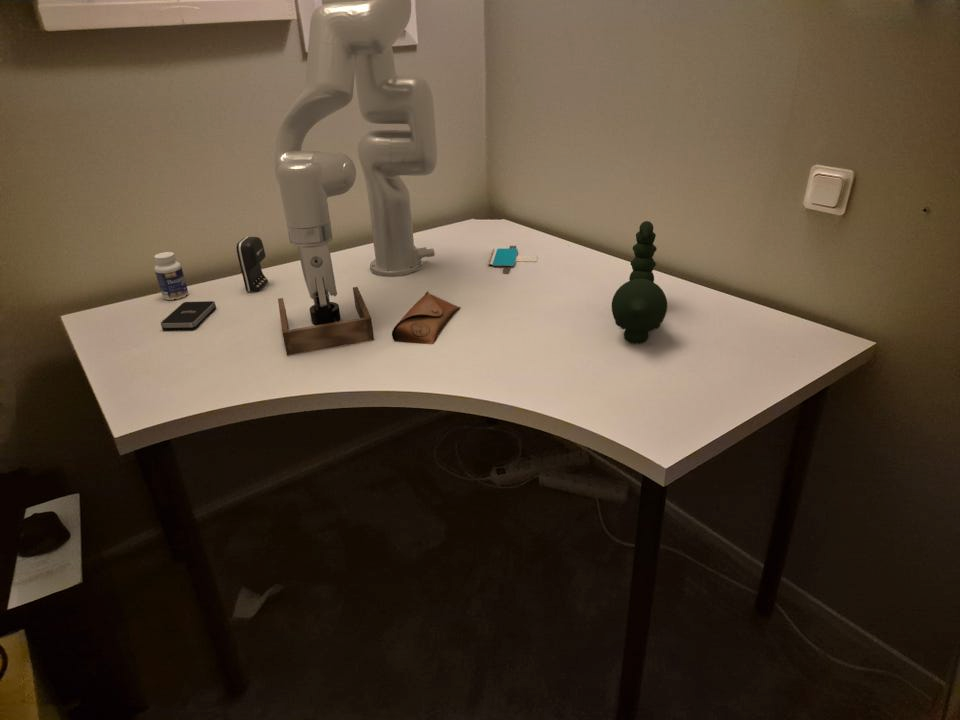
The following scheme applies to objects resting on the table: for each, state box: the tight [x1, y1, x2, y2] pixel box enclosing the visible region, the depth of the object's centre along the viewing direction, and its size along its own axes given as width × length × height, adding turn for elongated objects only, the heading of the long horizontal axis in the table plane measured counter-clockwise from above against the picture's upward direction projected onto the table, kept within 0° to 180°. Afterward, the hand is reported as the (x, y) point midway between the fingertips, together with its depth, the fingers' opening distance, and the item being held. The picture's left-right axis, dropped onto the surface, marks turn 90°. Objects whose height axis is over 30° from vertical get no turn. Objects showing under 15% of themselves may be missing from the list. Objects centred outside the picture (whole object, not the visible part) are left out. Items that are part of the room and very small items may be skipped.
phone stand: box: [487, 245, 538, 274], centre depth 155 cm, size 20×12×2 cm, turn 173°
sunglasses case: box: [391, 290, 462, 345], centre depth 123 cm, size 18×7×7 cm
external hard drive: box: [160, 300, 217, 332], centre depth 129 cm, size 7×11×2 cm, turn 178°
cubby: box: [277, 286, 375, 356], centre depth 122 cm, size 16×17×4 cm
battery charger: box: [236, 235, 269, 293], centre depth 141 cm, size 7×4×11 cm, turn 176°
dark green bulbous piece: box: [611, 220, 668, 345], centre depth 115 cm, size 10×19×26 cm
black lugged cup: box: [309, 301, 342, 326], centre depth 126 cm, size 8×10×3 cm
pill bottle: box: [154, 251, 189, 301], centre depth 139 cm, size 5×5×10 cm
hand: (325, 325), depth 120 cm, fingers closed
